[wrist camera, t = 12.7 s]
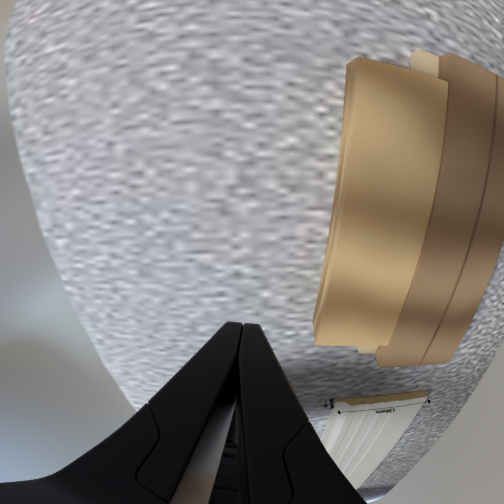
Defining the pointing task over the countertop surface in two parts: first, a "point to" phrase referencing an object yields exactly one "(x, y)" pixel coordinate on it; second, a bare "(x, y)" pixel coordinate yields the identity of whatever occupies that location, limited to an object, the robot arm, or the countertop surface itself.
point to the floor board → (455, 218)
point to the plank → (379, 200)
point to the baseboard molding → (368, 430)
